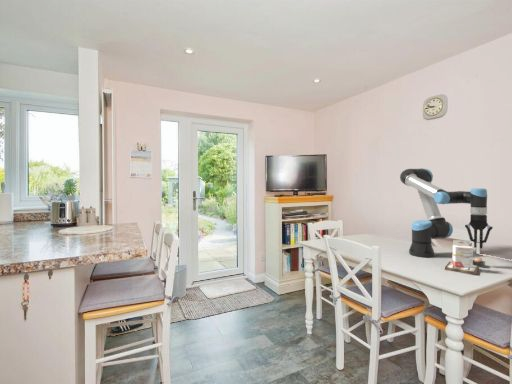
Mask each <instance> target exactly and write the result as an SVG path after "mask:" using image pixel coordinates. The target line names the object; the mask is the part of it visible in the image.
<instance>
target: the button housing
mask: <svg viewBox="0 0 512 384" xmlns="http://www.w3.org/2000/svg"><path fill="white" fill-rule="evenodd" d="M473 265H474V266H479V268H483V269H484V268H485V266H486V261H483V260H482V263H478V262H474V259H473Z"/></svg>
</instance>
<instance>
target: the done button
mask: <svg viewBox="0 0 512 384" xmlns="http://www.w3.org/2000/svg"><path fill="white" fill-rule="evenodd" d="M473 260H474V262H478V263H482V261H483V258H479V257H473Z"/></svg>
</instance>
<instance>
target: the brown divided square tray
mask: <svg viewBox="0 0 512 384" xmlns="http://www.w3.org/2000/svg"><path fill="white" fill-rule="evenodd" d="M479 269H480V267H479V266H474V265H473V268H466V267H455V266H454V265H453V264H452V261H448V262H447V264H446V265H445V266H444V270H445V271H450V272H455V273H461V274H467V275H473V276H477V274H478V272H479Z"/></svg>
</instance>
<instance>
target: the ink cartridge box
mask: <svg viewBox="0 0 512 384" xmlns="http://www.w3.org/2000/svg"><path fill="white" fill-rule="evenodd" d="M470 242H471V241H470V240H460V239H453V241H452V256H451V257H452V261H451V262H452V264H453V265H454V266H455V267H466V268H473V260H474V247H472V246H470V245H471V244H470Z"/></svg>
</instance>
